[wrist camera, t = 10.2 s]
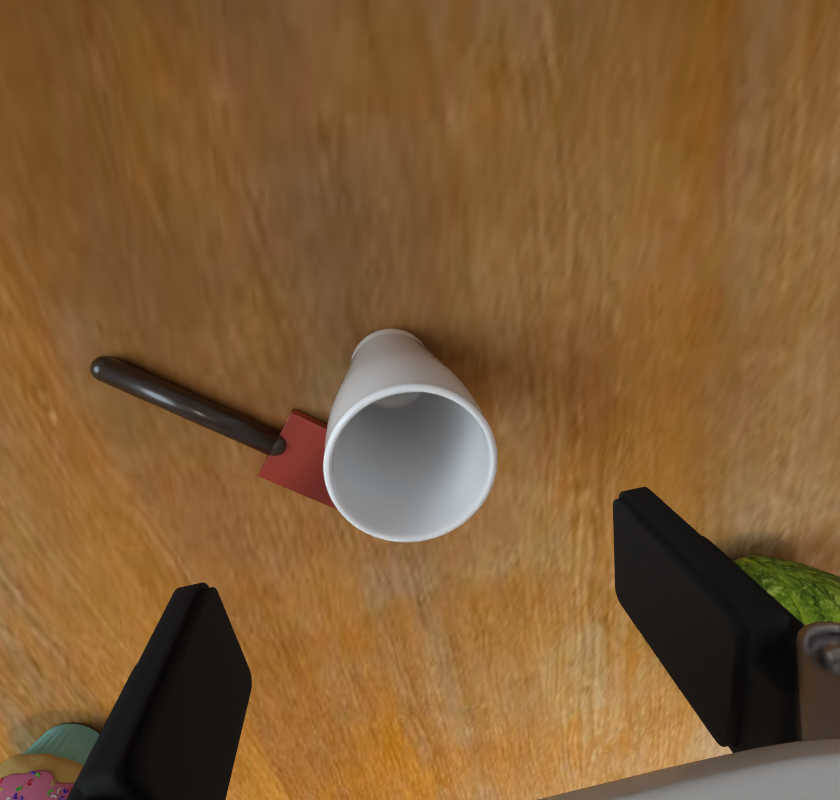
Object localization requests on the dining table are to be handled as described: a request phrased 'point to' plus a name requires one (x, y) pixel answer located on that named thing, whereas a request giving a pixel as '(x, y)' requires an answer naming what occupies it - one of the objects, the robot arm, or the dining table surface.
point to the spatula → (235, 428)
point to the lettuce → (796, 587)
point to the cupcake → (48, 764)
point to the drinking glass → (406, 443)
